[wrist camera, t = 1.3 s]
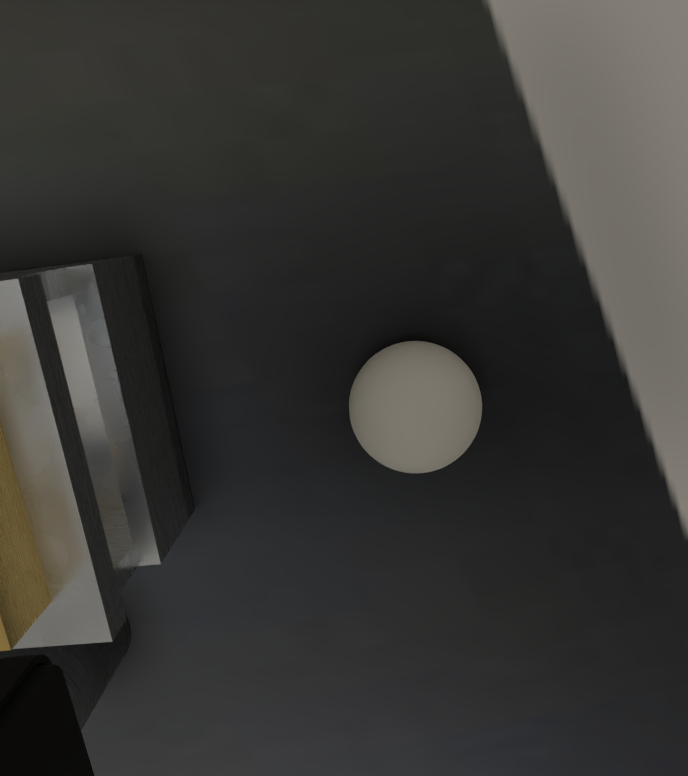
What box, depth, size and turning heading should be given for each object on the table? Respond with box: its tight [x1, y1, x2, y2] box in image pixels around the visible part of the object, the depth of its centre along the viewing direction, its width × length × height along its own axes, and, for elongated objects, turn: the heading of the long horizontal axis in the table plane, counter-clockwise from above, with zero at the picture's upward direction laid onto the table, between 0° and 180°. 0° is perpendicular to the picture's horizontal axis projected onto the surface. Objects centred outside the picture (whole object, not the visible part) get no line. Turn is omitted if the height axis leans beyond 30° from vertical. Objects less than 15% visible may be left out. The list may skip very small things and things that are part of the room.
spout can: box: [0, 617, 131, 730], centre depth 22 cm, size 4×4×11 cm
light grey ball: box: [349, 341, 482, 473], centre depth 21 cm, size 4×4×4 cm
